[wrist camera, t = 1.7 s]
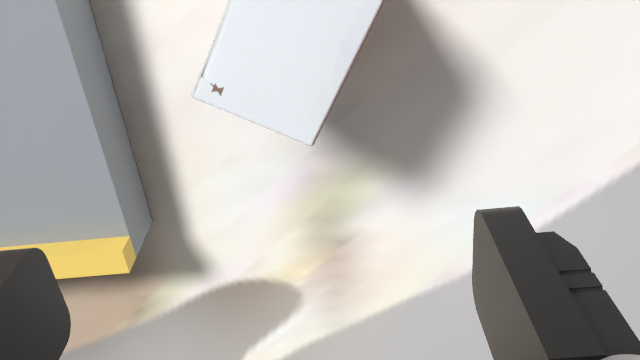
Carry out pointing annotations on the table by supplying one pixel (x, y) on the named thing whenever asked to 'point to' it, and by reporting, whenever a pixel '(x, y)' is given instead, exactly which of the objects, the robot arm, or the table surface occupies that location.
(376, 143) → the table surface
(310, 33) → the small box
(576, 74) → the table surface
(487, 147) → the table surface
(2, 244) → the platform
